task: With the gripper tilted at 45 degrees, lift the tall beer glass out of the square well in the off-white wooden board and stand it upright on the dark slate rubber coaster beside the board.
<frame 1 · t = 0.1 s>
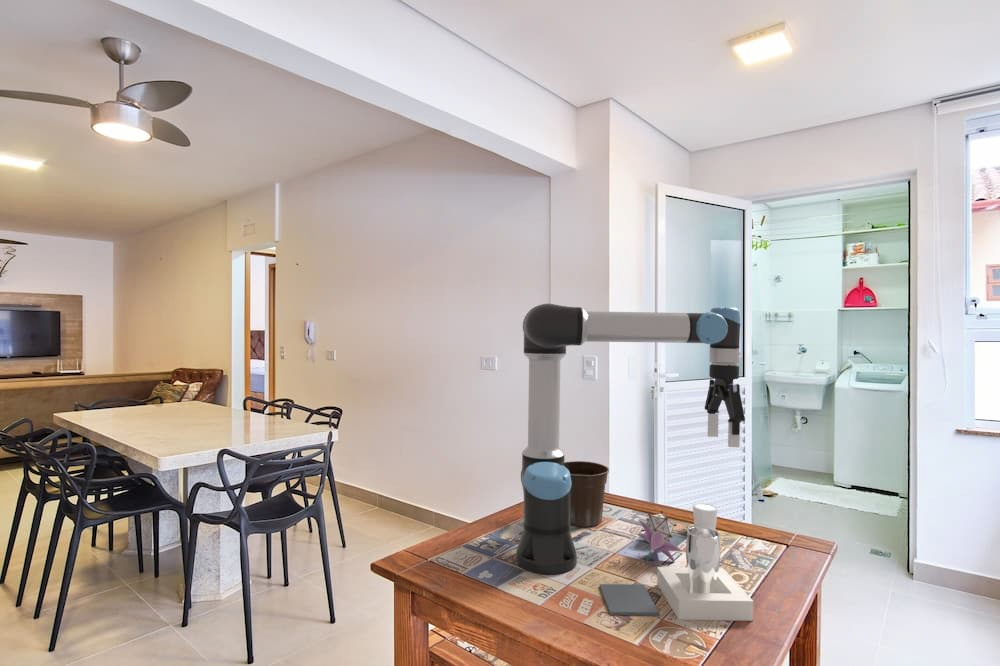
hand: (722, 441, 148), 28 cm above the table, tool pointing down, fingers open, 13 cm apart
game die: (658, 543, 149), on the table
white short tapered cylinder: (704, 531, 158), on the table
plant pot: (580, 521, 165), on the table
slate coaster: (627, 600, 117), on the table
lily: (656, 562, 137), on the table
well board: (702, 601, 117), on the table
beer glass: (702, 602, 117), resting in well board
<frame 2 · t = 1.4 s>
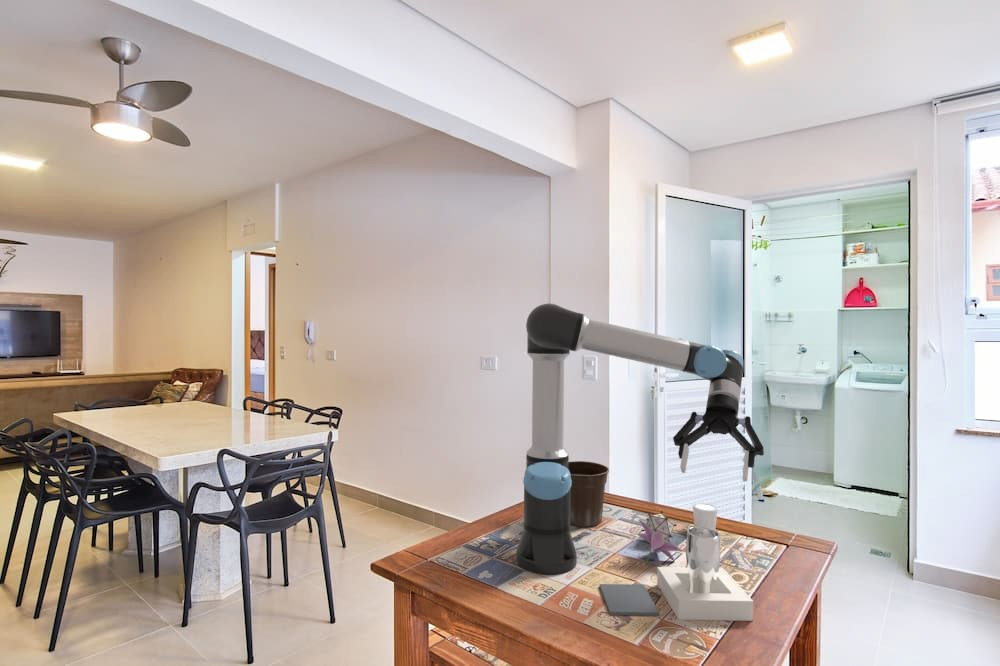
hand: (712, 474, 126), 25 cm above the table, tool tilted 45°, fingers open, 13 cm apart
nothing on the table moved.
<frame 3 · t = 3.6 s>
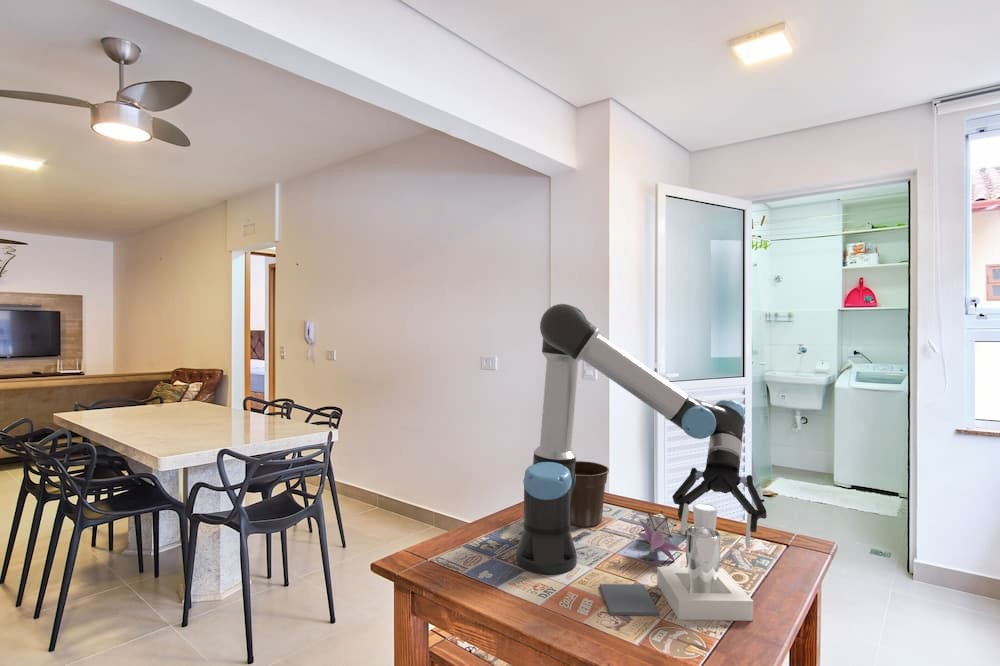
hand: (714, 538, 121), 12 cm above the table, tool tilted 45°, fingers open, 13 cm apart
nothing on the table moved.
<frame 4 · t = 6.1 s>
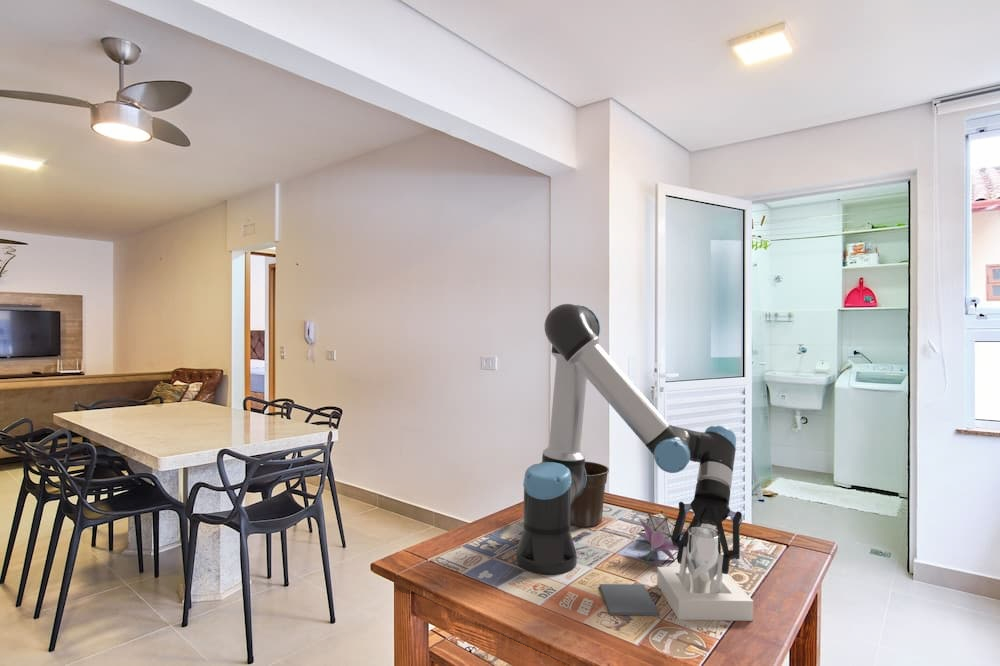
hand: (699, 582, 113), 5 cm above the table, tool tilted 45°, fingers closed on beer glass, 7 cm apart
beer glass: (702, 602, 117), resting in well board, touching gripper
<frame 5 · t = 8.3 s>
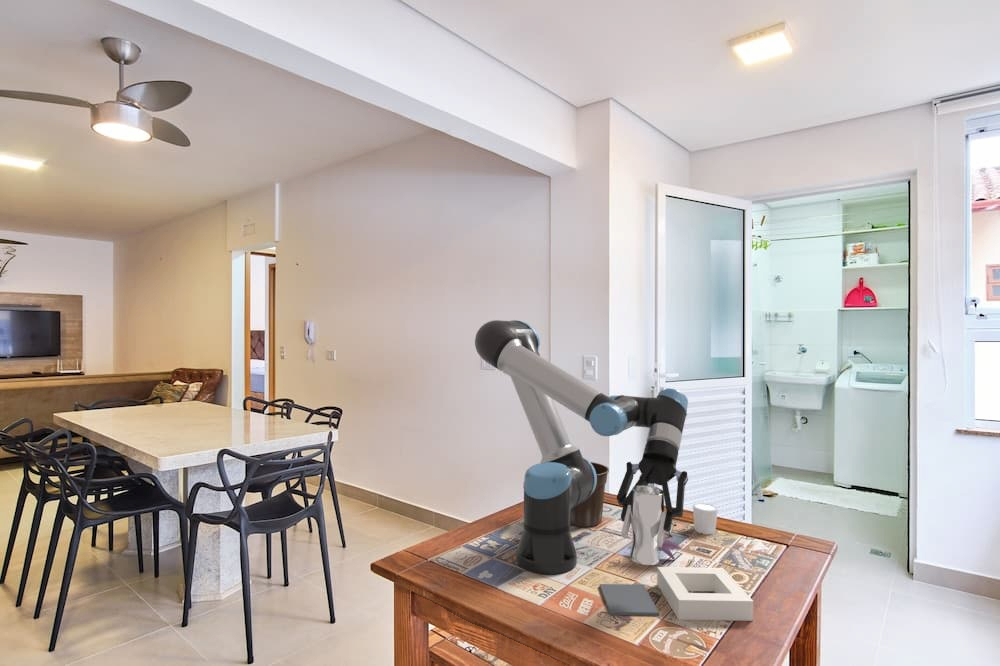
hand: (641, 539, 113), 14 cm above the table, tool tilted 45°, fingers closed on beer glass, 7 cm apart
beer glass: (644, 559, 117), point 9 cm above the table, touching gripper
when the fingers open (7 cm above the table, at t = 10.6 s): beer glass drops 1 cm, resting on slate coaster.
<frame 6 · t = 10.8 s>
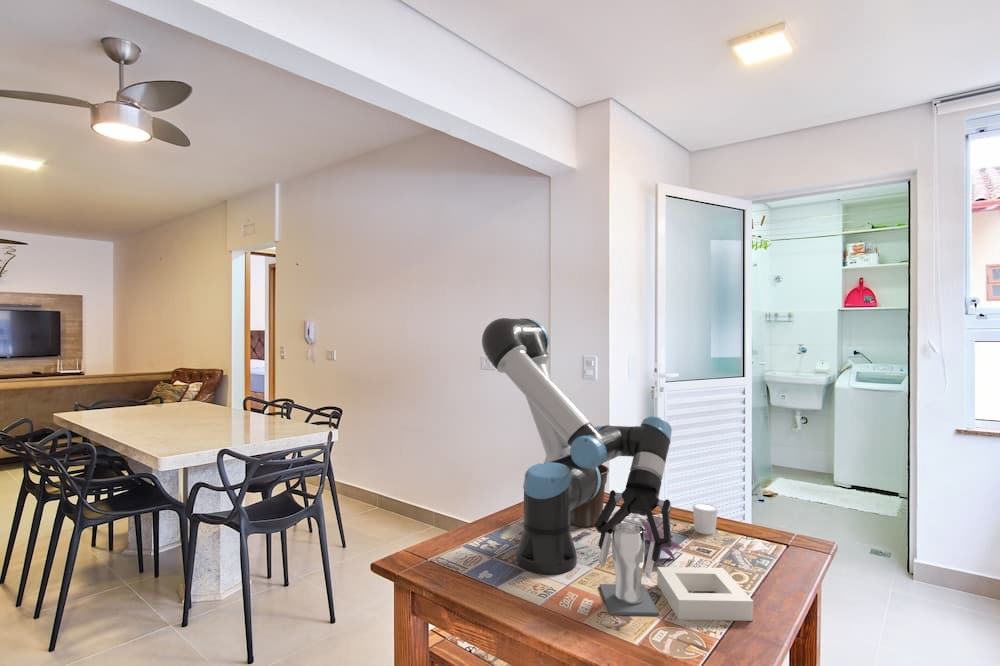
hand: (623, 569, 114), 8 cm above the table, tool tilted 45°, fingers open, 9 cm apart
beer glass: (628, 598, 117), resting on slate coaster
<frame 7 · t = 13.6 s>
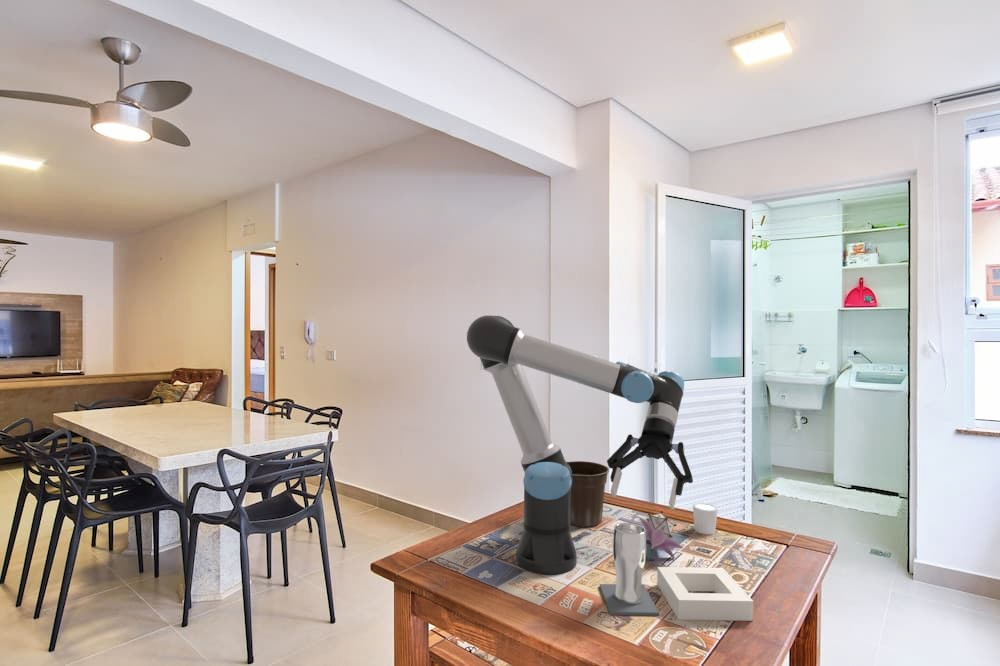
hand: (641, 500, 126), 19 cm above the table, tool tilted 45°, fingers open, 13 cm apart
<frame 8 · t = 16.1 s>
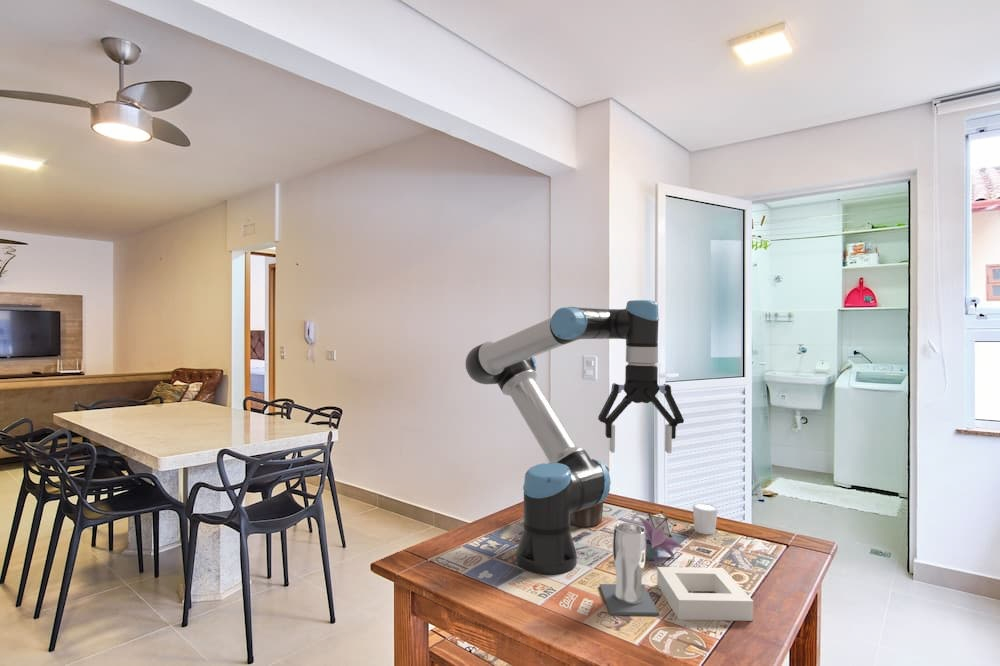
hand: (640, 451, 131), 29 cm above the table, tool pointing down, fingers open, 13 cm apart
at the end: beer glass inside the target area on the slate coaster (0.1 cm from its centre), point 0.4 cm above the slate coaster's base; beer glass tilted 0°; the gripper is holding nothing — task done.
